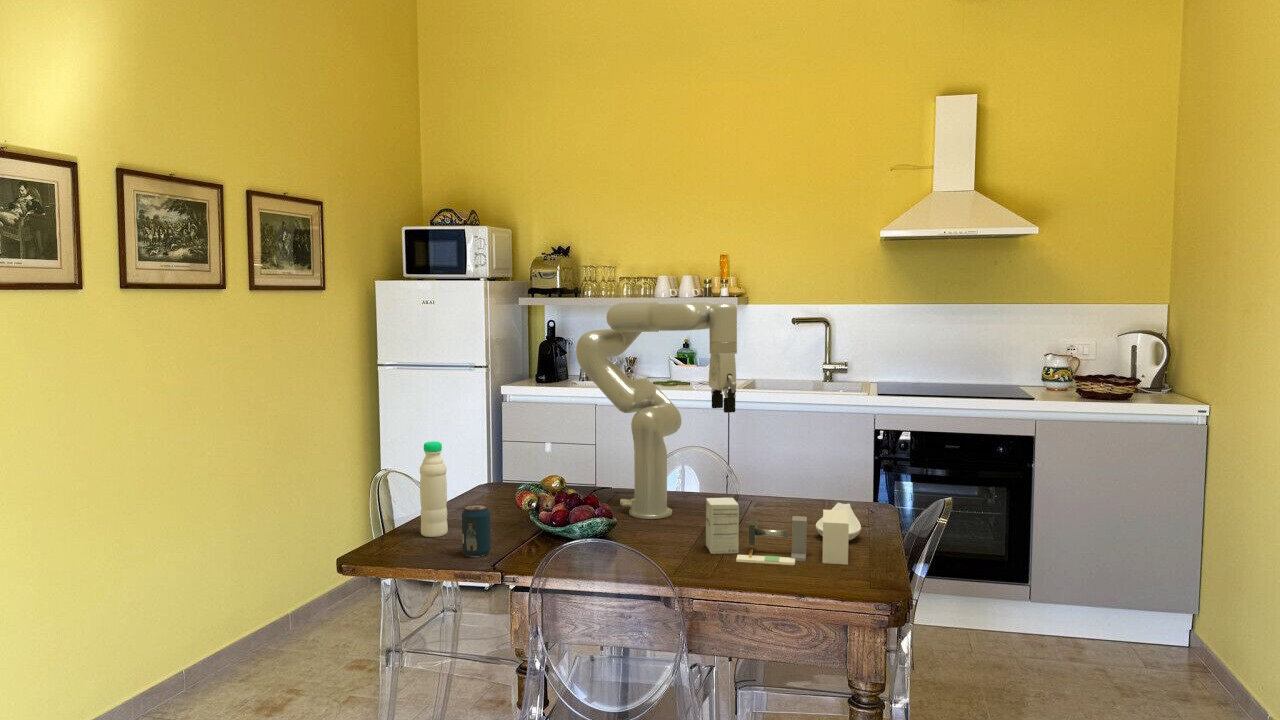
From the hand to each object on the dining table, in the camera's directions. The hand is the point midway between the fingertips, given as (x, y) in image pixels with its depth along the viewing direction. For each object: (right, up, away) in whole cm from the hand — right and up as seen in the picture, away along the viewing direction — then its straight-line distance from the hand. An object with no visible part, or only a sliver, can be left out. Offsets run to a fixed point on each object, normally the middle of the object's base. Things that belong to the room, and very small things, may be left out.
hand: (723, 410), depth 252 cm
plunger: (+9, -34, -26) cm, 43 cm away
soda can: (-64, -35, -25) cm, 77 cm away
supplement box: (-2, -34, -21) cm, 40 cm away
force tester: (+15, -35, -26) cm, 46 cm away
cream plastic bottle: (-78, -33, -7) cm, 85 cm away
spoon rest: (+31, -34, -5) cm, 46 cm away
